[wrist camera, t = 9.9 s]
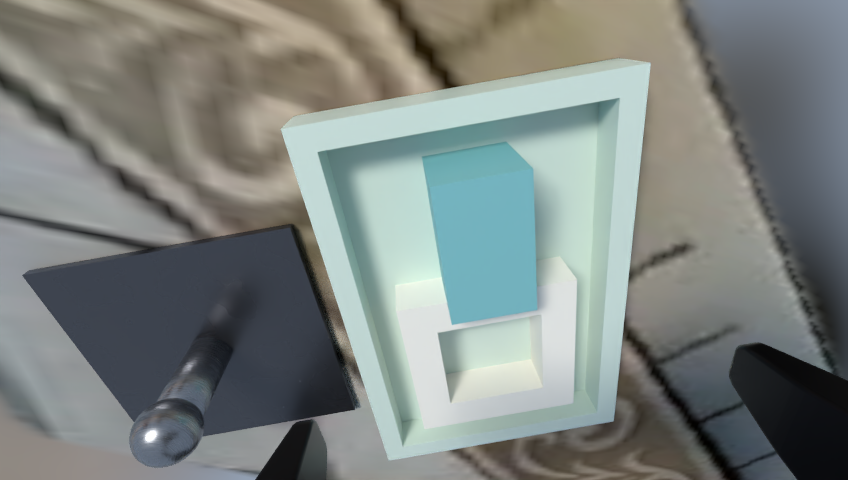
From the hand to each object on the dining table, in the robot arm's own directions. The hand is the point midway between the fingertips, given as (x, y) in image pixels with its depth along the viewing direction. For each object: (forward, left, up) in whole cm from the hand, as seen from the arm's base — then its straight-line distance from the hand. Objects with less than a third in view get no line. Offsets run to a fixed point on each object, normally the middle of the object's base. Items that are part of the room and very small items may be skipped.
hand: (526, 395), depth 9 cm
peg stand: (-6, +13, -11) cm, 18 cm away
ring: (-5, -1, -10) cm, 11 cm away
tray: (-5, -1, -11) cm, 12 cm away
